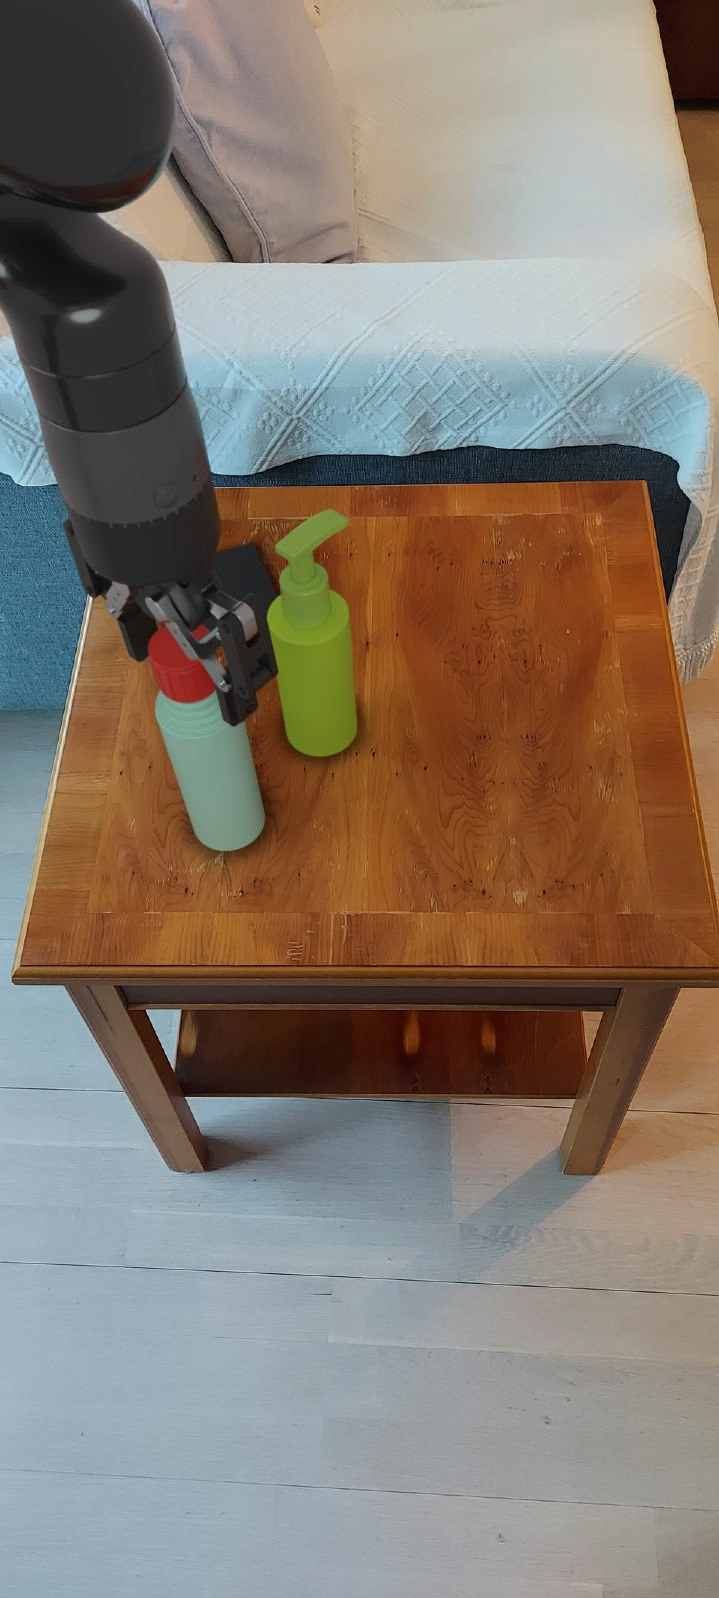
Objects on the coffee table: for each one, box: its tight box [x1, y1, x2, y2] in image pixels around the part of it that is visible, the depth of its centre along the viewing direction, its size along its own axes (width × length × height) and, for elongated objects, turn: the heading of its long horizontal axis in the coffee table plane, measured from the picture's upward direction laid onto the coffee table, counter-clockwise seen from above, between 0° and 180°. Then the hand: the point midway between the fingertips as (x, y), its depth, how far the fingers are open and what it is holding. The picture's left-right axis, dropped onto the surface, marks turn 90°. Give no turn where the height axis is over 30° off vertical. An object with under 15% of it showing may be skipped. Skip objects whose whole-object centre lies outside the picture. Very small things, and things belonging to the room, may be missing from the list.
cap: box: [148, 625, 220, 703], centre depth 62 cm, size 4×4×3 cm
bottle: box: [154, 690, 266, 852], centre depth 70 cm, size 6×6×19 cm
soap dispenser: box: [267, 508, 358, 757], centre depth 74 cm, size 6×7×20 cm
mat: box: [202, 542, 279, 632], centre depth 91 cm, size 10×10×1 cm
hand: (192, 683), depth 63 cm, fingers open, 8 cm apart
